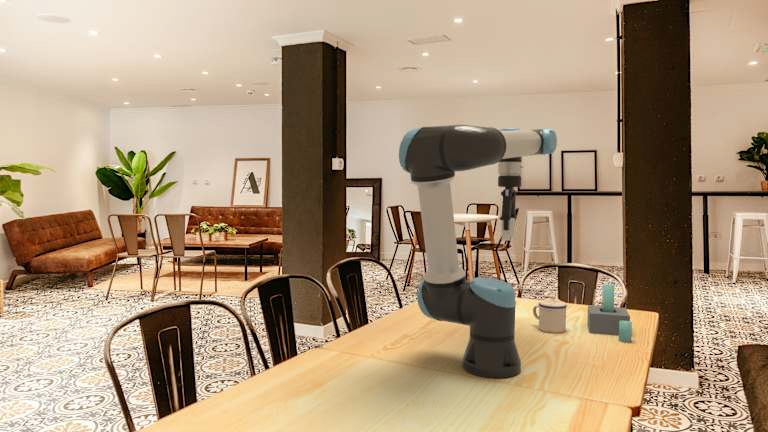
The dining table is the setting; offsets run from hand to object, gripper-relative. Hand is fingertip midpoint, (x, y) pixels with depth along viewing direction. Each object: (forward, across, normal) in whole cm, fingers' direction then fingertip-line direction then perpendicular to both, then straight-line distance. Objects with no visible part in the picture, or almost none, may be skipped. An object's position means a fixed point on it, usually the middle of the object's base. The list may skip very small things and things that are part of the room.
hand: (508, 238), depth 178 cm
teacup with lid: (+31, +4, -13) cm, 34 cm away
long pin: (+30, +10, -32) cm, 45 cm away
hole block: (+30, +10, -32) cm, 45 cm away
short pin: (+30, -2, -37) cm, 48 cm away
